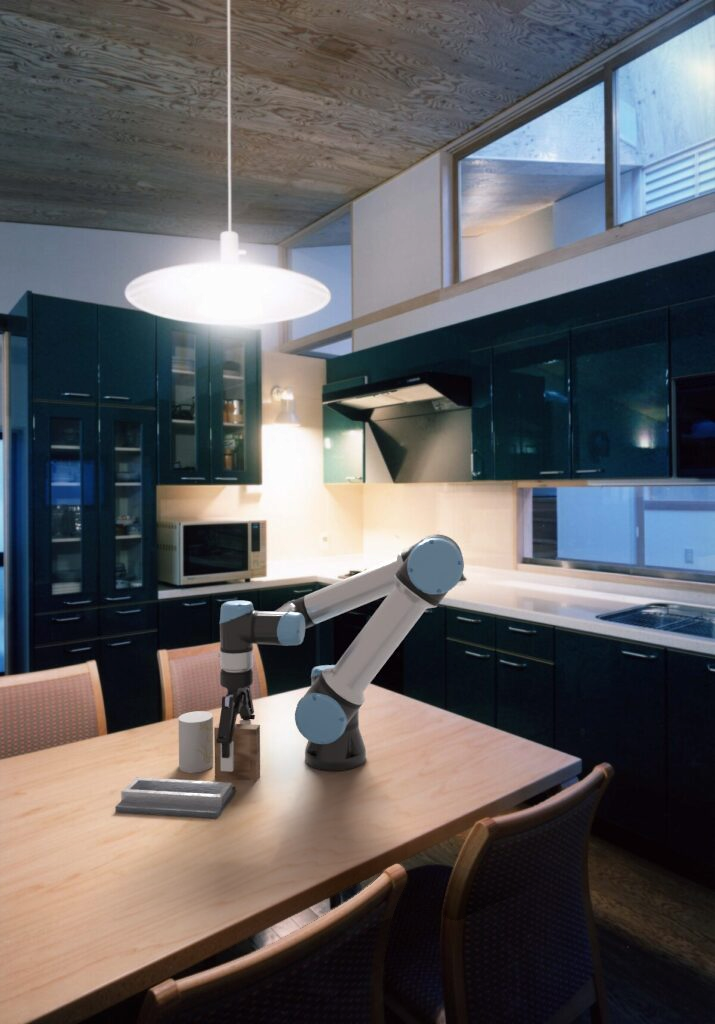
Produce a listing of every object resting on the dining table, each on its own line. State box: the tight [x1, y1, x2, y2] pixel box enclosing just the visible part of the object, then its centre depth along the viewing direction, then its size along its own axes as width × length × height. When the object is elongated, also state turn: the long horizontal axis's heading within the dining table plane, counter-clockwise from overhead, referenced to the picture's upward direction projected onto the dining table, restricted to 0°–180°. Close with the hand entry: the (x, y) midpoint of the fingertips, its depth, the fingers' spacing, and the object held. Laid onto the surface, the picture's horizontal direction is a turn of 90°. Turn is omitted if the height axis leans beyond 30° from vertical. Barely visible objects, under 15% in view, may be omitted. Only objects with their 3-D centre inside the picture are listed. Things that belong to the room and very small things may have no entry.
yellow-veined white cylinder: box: [178, 710, 214, 774], centre depth 159 cm, size 8×8×12 cm
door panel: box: [213, 722, 261, 782], centre depth 152 cm, size 10×3×12 cm, turn 83°
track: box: [114, 777, 237, 820], centre depth 140 cm, size 22×12×3 cm, turn 83°
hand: (236, 758), depth 152 cm, fingers open, 13 cm apart
